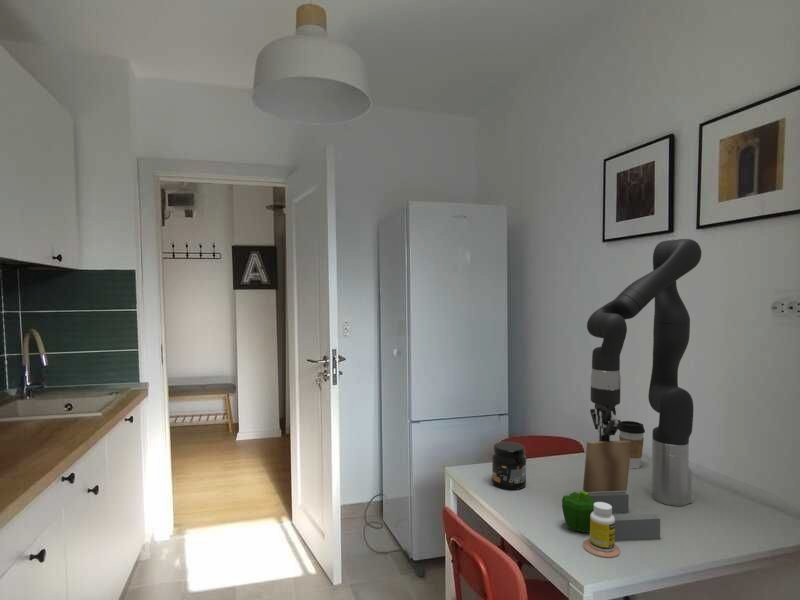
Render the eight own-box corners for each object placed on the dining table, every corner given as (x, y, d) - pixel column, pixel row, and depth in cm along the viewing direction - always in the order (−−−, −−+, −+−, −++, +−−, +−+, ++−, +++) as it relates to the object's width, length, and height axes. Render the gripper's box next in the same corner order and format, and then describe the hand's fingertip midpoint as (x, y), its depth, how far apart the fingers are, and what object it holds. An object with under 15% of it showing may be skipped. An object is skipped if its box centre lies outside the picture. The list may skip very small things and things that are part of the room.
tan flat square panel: (626, 490, 133) (624, 488, 134) (631, 442, 131) (629, 440, 132) (584, 492, 132) (582, 490, 133) (588, 443, 130) (587, 441, 131)
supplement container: (488, 477, 157) (488, 441, 157) (520, 477, 158) (521, 440, 157) (496, 491, 147) (496, 451, 147) (530, 490, 147) (530, 451, 147)
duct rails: (624, 509, 134) (624, 491, 134) (660, 538, 119) (660, 518, 118) (582, 511, 133) (582, 493, 133) (612, 541, 118) (613, 520, 117)
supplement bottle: (612, 555, 111) (613, 512, 110) (587, 548, 113) (587, 506, 113) (616, 544, 115) (616, 503, 115) (592, 538, 118) (592, 498, 118)
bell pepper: (557, 520, 128) (557, 483, 128) (587, 519, 128) (587, 482, 128) (570, 536, 120) (570, 496, 119) (602, 535, 120) (603, 495, 120)
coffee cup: (621, 469, 165) (622, 425, 164) (614, 460, 173) (615, 418, 173) (648, 470, 163) (648, 426, 163) (640, 462, 172) (640, 419, 171)
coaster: (608, 539, 118) (608, 537, 118) (626, 557, 111) (626, 555, 111) (577, 540, 118) (577, 538, 118) (592, 558, 110) (593, 556, 110)
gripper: (581, 380, 139) (580, 440, 140) (604, 391, 126) (603, 457, 127) (606, 380, 140) (605, 440, 140) (631, 390, 127) (630, 456, 127)
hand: (604, 448), depth 134 cm, fingers closed
